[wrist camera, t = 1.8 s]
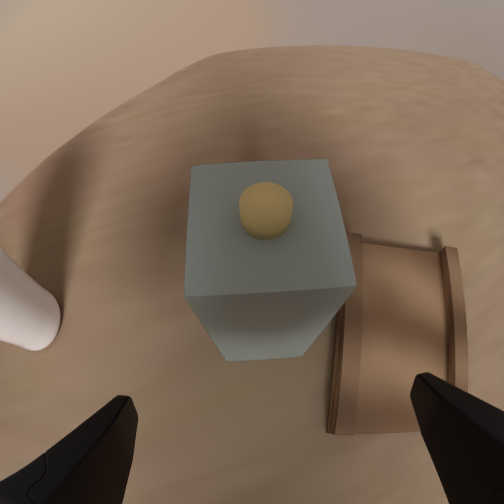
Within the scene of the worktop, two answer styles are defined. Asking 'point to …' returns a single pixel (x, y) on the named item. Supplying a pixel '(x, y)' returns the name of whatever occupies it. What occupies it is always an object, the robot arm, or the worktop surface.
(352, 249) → the walnut trough
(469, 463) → the robot arm
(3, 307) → the white cylinder
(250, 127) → the worktop surface
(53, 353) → the worktop surface
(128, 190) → the worktop surface
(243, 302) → the block
